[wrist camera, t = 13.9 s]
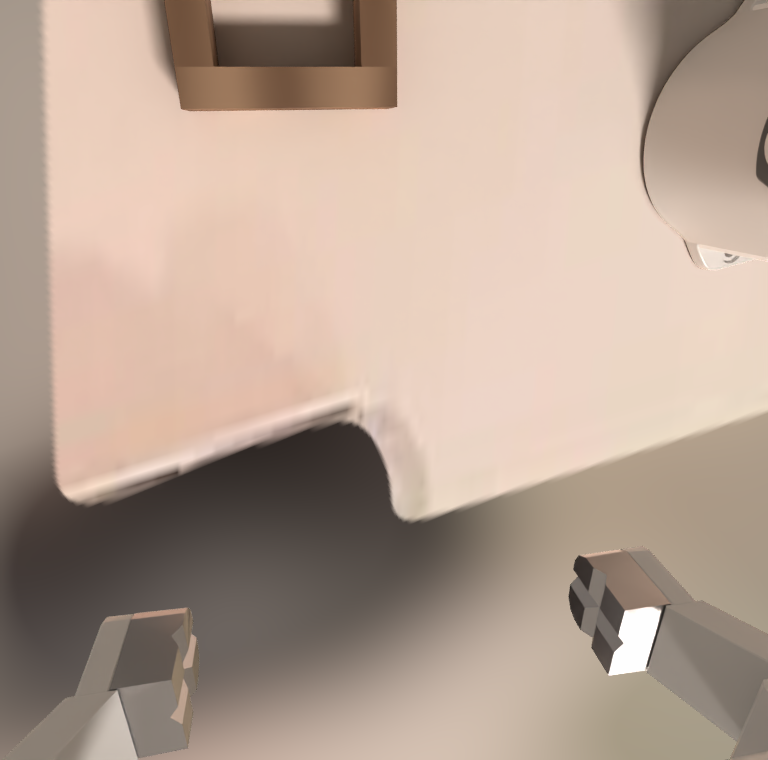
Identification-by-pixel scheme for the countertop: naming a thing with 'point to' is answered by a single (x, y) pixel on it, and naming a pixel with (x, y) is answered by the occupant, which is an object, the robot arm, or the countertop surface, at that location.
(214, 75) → the socket block
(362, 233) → the countertop surface
